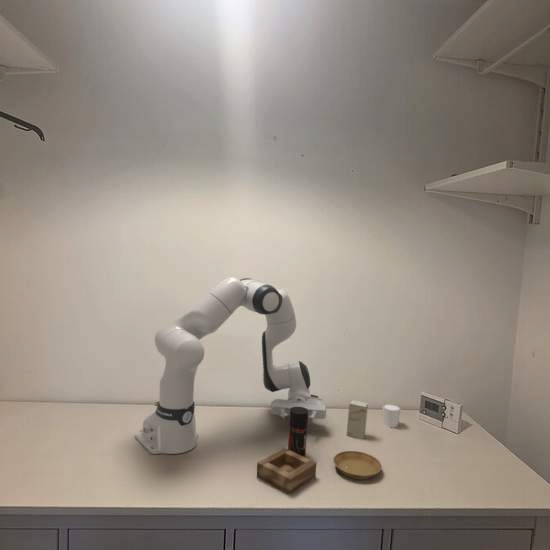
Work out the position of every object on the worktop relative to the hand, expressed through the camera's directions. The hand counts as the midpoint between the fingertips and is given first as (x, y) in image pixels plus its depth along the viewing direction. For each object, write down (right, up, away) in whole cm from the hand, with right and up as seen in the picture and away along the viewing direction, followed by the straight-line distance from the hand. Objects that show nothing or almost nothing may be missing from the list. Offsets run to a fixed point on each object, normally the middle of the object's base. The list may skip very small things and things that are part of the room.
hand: (298, 417), depth 151 cm
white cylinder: (+37, -9, +17) cm, 42 cm away
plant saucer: (+17, -11, -17) cm, 27 cm away
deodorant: (-1, -9, -10) cm, 13 cm away
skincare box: (+22, -9, +7) cm, 24 cm away
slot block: (-5, -10, -23) cm, 26 cm away
